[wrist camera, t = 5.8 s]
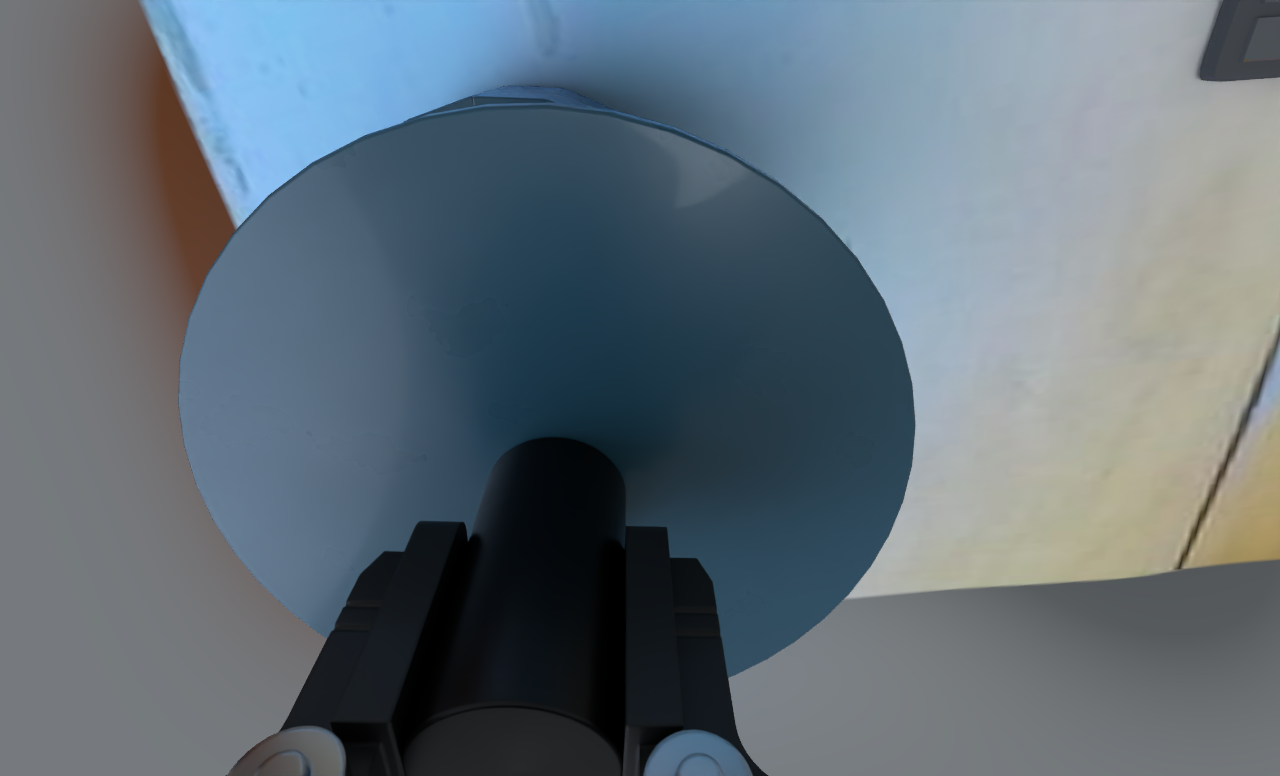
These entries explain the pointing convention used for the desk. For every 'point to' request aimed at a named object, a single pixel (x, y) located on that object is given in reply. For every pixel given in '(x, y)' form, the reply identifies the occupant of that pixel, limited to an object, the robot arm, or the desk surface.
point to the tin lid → (545, 405)
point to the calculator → (1244, 42)
